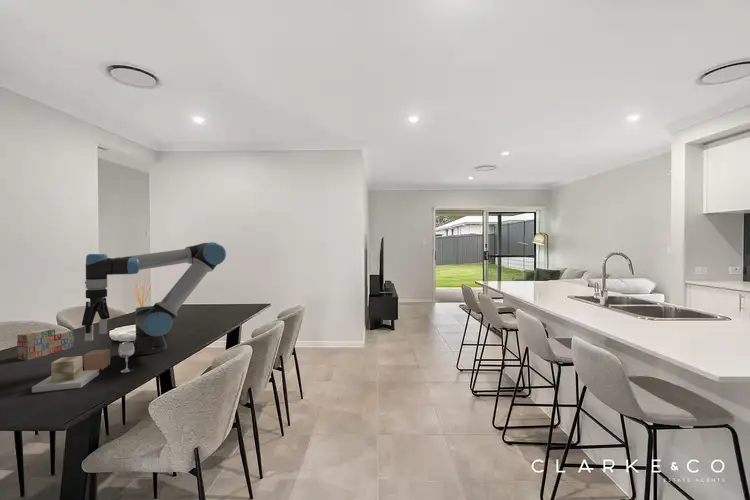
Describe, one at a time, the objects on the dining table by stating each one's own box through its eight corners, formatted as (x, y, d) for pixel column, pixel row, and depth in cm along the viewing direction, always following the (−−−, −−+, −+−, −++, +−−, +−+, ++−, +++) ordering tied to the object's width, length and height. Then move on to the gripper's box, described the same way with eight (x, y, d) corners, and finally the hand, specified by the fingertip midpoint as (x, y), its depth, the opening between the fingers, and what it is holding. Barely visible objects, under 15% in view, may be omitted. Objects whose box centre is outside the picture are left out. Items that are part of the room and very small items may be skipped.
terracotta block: (110, 364, 162) (110, 349, 162) (103, 369, 155) (103, 353, 155) (92, 366, 160) (91, 350, 160) (84, 371, 153) (84, 354, 153)
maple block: (82, 373, 144) (82, 355, 144) (73, 379, 137) (73, 361, 137) (61, 375, 142) (61, 357, 142) (51, 381, 135) (51, 363, 135)
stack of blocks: (64, 347, 191) (64, 324, 191) (74, 347, 190) (73, 324, 190) (17, 359, 170) (16, 333, 170) (27, 360, 169) (27, 334, 169)
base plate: (99, 374, 149) (98, 369, 149) (81, 387, 134) (81, 381, 134) (55, 378, 144) (55, 372, 144) (31, 392, 130) (31, 386, 130)
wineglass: (138, 369, 155) (137, 341, 155) (124, 373, 149) (124, 345, 149) (128, 367, 156) (128, 340, 156) (115, 372, 151) (114, 343, 151)
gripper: (99, 286, 168) (99, 331, 168) (71, 292, 144) (71, 344, 144) (117, 285, 170) (117, 330, 170) (93, 291, 146) (93, 343, 146)
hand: (96, 337), depth 157 cm, fingers open, 13 cm apart
